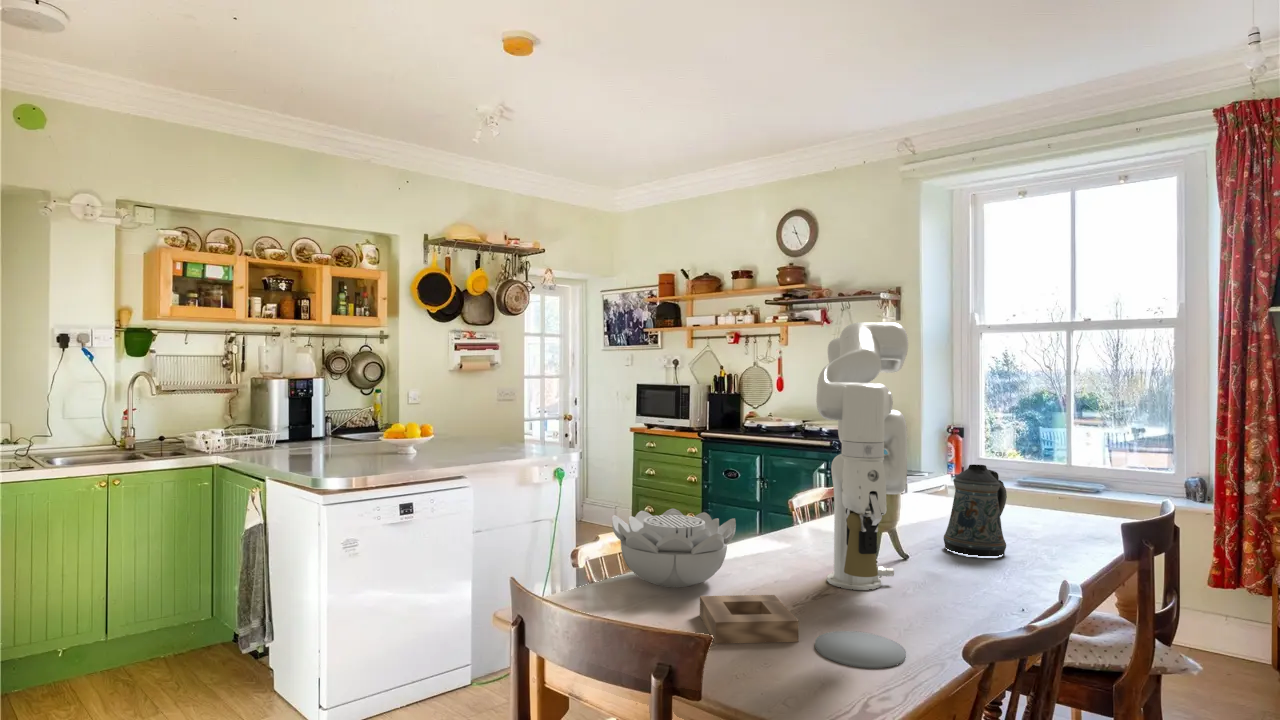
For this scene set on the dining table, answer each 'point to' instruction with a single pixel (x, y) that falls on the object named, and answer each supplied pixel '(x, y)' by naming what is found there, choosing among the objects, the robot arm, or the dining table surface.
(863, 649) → the slate mat
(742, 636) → the walnut holder
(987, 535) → the beer stein
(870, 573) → the cork
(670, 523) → the decorative bowl
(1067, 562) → the dining table surface
